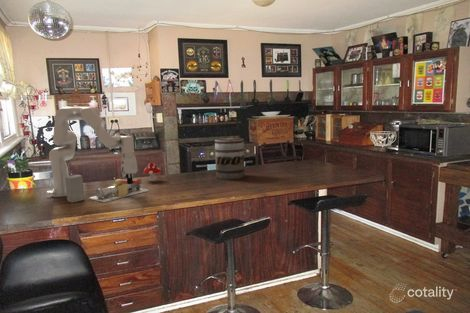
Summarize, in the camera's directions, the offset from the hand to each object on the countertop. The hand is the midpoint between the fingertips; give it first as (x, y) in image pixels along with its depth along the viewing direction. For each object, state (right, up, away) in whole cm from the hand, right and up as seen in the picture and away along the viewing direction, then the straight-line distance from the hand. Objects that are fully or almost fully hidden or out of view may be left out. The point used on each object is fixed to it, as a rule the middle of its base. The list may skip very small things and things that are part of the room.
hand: (130, 183), depth 230 cm
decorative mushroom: (+4, -2, +45) cm, 45 cm away
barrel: (+64, +1, +54) cm, 83 cm away
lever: (-2, 0, +3) cm, 4 cm away
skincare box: (-31, -10, -8) cm, 34 cm away
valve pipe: (-8, -8, +5) cm, 12 cm away
